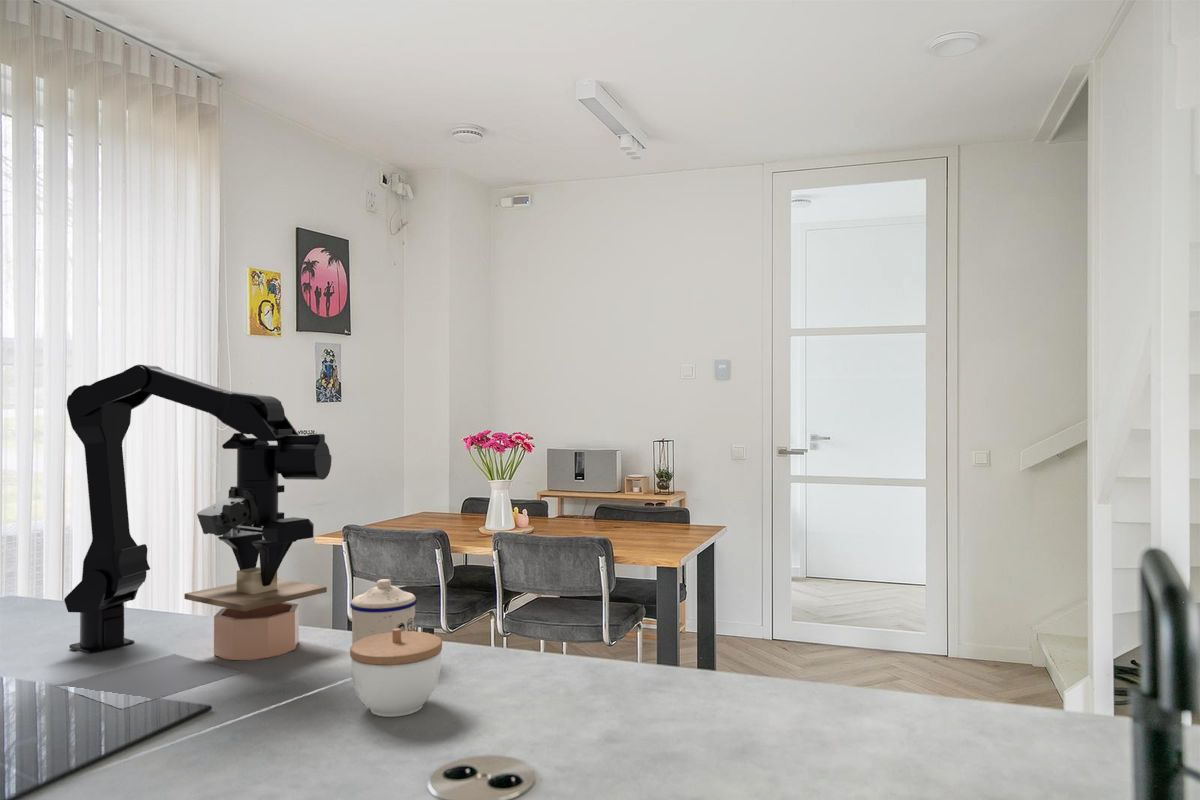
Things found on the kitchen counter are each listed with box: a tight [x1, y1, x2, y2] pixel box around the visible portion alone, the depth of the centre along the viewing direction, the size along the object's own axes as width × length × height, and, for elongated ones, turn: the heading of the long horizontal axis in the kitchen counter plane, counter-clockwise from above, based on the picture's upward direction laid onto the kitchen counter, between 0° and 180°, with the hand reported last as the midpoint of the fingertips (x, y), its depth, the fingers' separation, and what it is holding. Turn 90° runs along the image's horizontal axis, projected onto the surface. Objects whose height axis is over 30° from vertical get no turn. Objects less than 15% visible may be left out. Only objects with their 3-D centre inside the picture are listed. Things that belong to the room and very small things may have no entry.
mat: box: [58, 653, 243, 700], centre depth 107 cm, size 16×16×1 cm
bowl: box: [213, 601, 300, 661], centre depth 121 cm, size 11×11×6 cm
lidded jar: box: [349, 628, 443, 718], centre depth 97 cm, size 11×11×9 cm
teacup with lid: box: [350, 578, 418, 645], centre depth 116 cm, size 12×9×12 cm
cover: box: [183, 566, 328, 611], centre depth 121 cm, size 14×14×4 cm
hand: (257, 584), depth 121 cm, fingers closed on cover, 4 cm apart
